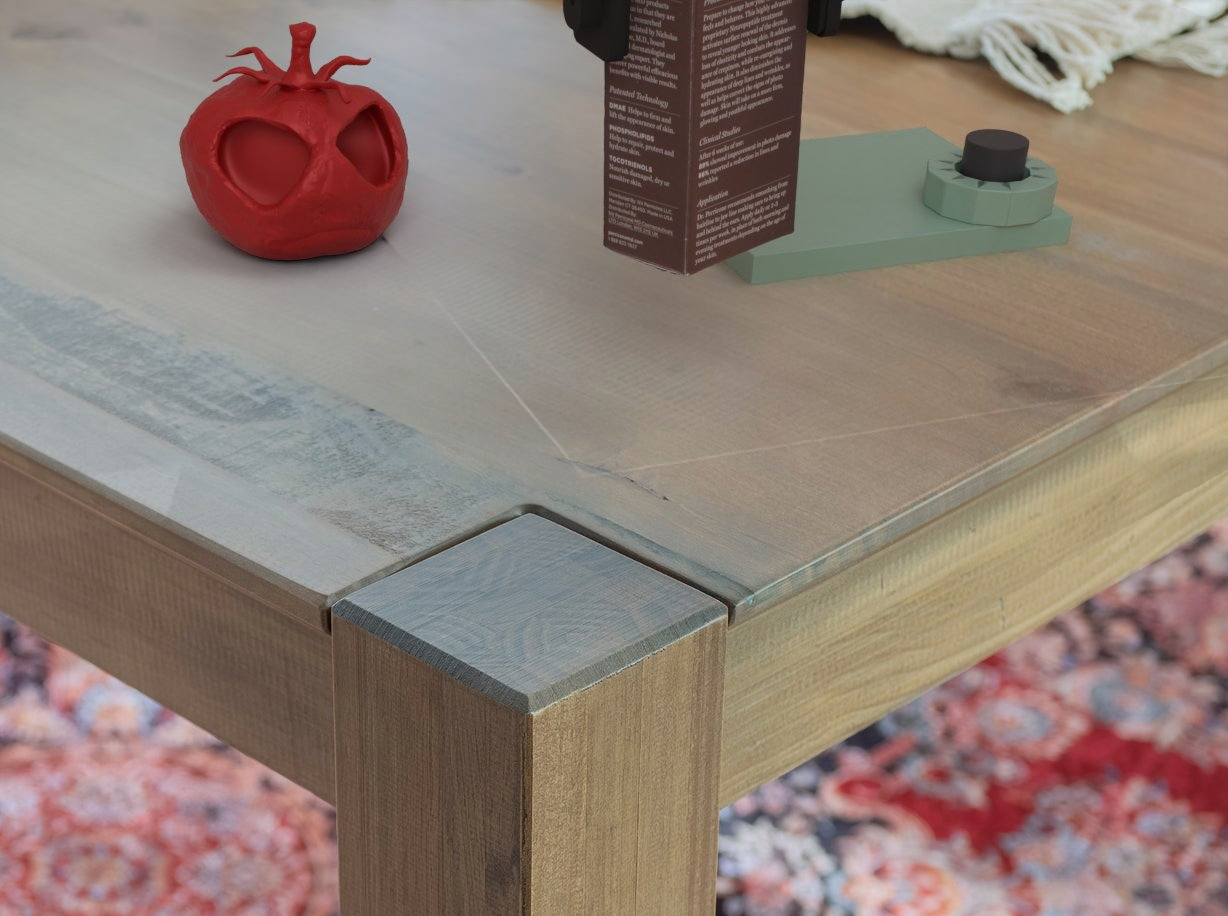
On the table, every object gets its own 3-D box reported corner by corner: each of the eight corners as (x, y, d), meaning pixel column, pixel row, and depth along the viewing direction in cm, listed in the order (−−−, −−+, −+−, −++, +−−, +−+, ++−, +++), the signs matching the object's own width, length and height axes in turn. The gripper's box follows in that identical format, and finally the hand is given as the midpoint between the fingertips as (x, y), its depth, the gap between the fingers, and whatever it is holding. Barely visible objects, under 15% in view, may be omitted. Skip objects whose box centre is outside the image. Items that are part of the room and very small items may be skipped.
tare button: (1000, 164, 88) (1007, 126, 86) (1034, 184, 85) (1042, 145, 84) (947, 170, 87) (954, 132, 86) (980, 190, 85) (987, 151, 84)
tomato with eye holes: (169, 210, 89) (151, 2, 83) (376, 188, 91) (372, -14, 86) (213, 290, 81) (197, 67, 75) (437, 264, 84) (437, 47, 78)
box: (701, 206, 71) (724, -146, 64) (796, 238, 68) (831, -125, 61) (588, 248, 67) (598, -118, 60) (683, 284, 65) (706, -95, 58)
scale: (921, 154, 96) (930, 94, 95) (1072, 248, 86) (1085, 183, 85) (631, 186, 92) (635, 124, 90) (754, 290, 82) (761, 222, 80)
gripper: (497, -613, 48) (499, 101, 58) (1089, -622, 52) (992, 41, 63) (406, -615, 54) (422, 36, 64) (947, -623, 58) (880, -15, 69)
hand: (705, 34), depth 63 cm, fingers closed on box, 7 cm apart
